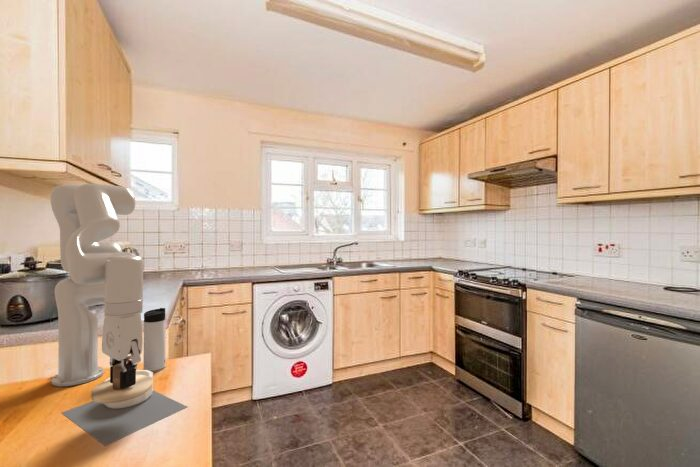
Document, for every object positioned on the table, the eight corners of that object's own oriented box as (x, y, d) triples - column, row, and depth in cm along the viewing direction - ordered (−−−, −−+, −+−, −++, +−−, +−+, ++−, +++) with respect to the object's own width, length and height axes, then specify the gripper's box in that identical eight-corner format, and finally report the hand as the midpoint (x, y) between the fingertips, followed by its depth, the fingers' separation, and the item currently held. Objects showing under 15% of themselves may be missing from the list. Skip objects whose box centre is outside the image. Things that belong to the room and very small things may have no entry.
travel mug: (170, 367, 112) (170, 308, 112) (153, 375, 106) (153, 313, 106) (156, 365, 114) (156, 307, 114) (138, 372, 108) (139, 311, 108)
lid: (81, 393, 78) (82, 367, 77) (136, 374, 88) (137, 351, 88) (105, 409, 71) (105, 381, 71) (161, 387, 81) (162, 362, 81)
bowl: (96, 401, 89) (96, 380, 89) (140, 385, 98) (140, 366, 98) (115, 413, 83) (116, 391, 83) (160, 395, 92) (160, 375, 92)
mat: (61, 415, 83) (61, 412, 83) (140, 386, 99) (140, 384, 99) (105, 448, 70) (105, 445, 70) (187, 409, 86) (187, 406, 86)
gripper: (89, 305, 80) (88, 380, 81) (123, 316, 71) (122, 401, 72) (124, 299, 87) (123, 369, 87) (159, 309, 78) (157, 387, 78)
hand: (122, 382), depth 79 cm, fingers closed on lid, 4 cm apart
